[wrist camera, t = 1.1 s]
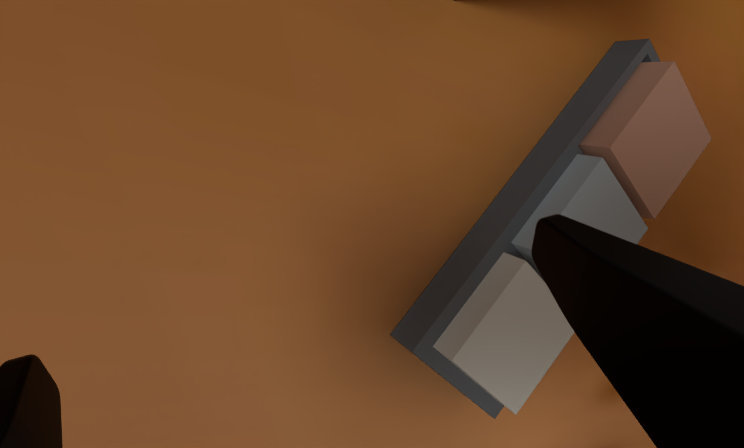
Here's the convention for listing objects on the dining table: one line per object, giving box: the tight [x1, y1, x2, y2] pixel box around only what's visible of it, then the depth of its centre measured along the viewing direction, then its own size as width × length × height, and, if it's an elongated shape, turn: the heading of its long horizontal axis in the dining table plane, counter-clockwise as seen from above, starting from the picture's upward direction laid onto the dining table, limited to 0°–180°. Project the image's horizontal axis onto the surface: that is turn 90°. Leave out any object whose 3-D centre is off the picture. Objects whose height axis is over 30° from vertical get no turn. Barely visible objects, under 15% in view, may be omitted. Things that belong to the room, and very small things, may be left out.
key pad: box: [390, 39, 661, 419], centre depth 28 cm, size 20×7×4 cm, turn 134°
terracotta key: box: [578, 61, 712, 219], centre depth 28 cm, size 6×6×2 cm
